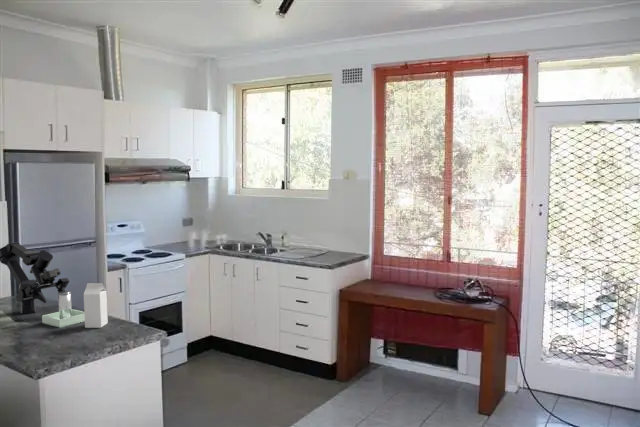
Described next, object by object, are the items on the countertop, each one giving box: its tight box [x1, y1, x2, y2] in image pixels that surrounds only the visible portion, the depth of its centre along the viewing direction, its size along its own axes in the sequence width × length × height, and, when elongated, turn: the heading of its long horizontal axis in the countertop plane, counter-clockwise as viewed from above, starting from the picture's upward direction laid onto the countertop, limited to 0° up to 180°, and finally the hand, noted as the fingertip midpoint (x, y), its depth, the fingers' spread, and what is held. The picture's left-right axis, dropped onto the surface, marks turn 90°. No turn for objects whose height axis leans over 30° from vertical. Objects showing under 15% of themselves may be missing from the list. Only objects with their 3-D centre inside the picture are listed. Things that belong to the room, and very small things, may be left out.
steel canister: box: [57, 290, 73, 319], centre depth 244 cm, size 5×5×13 cm
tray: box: [41, 308, 85, 329], centre depth 245 cm, size 14×14×4 cm
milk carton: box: [83, 282, 109, 329], centre depth 237 cm, size 7×7×19 cm
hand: (55, 300), depth 248 cm, fingers open, 9 cm apart
